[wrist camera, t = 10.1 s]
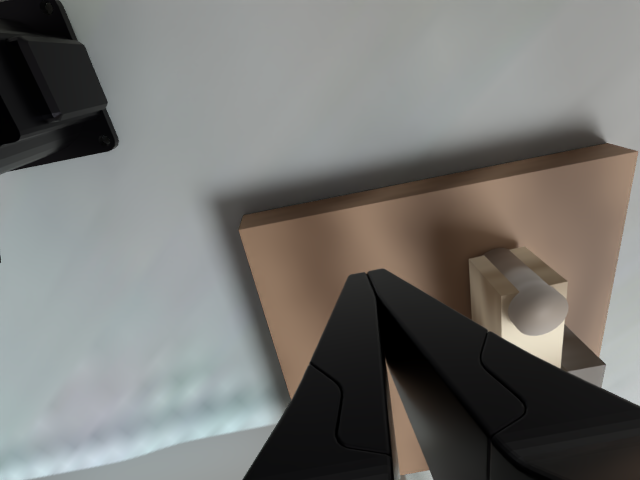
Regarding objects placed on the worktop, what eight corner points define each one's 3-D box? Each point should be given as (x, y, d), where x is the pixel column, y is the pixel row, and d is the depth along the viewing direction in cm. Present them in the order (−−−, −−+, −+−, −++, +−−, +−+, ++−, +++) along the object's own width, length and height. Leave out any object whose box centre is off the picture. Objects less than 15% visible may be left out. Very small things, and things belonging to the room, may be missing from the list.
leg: (467, 254, 20) (508, 300, 16) (523, 242, 20) (577, 285, 16) (476, 419, 26) (507, 481, 22) (519, 410, 26) (558, 471, 22)
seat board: (317, 464, 30) (322, 543, 25) (243, 215, 21) (227, 264, 16) (565, 419, 30) (619, 490, 25) (607, 143, 20) (709, 170, 15)
